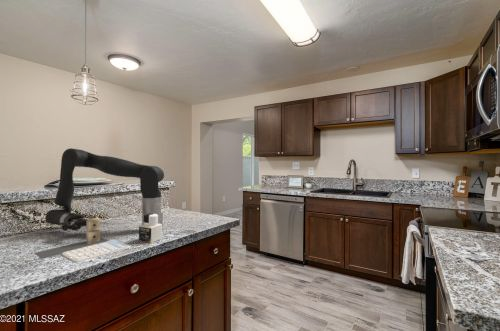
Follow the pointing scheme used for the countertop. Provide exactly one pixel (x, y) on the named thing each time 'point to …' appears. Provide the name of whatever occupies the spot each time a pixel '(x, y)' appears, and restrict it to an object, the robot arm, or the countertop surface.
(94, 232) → the domino
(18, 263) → the countertop surface
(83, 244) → the mat
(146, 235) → the medicine bottle
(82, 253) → the calculator
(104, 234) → the countertop surface
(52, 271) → the countertop surface
